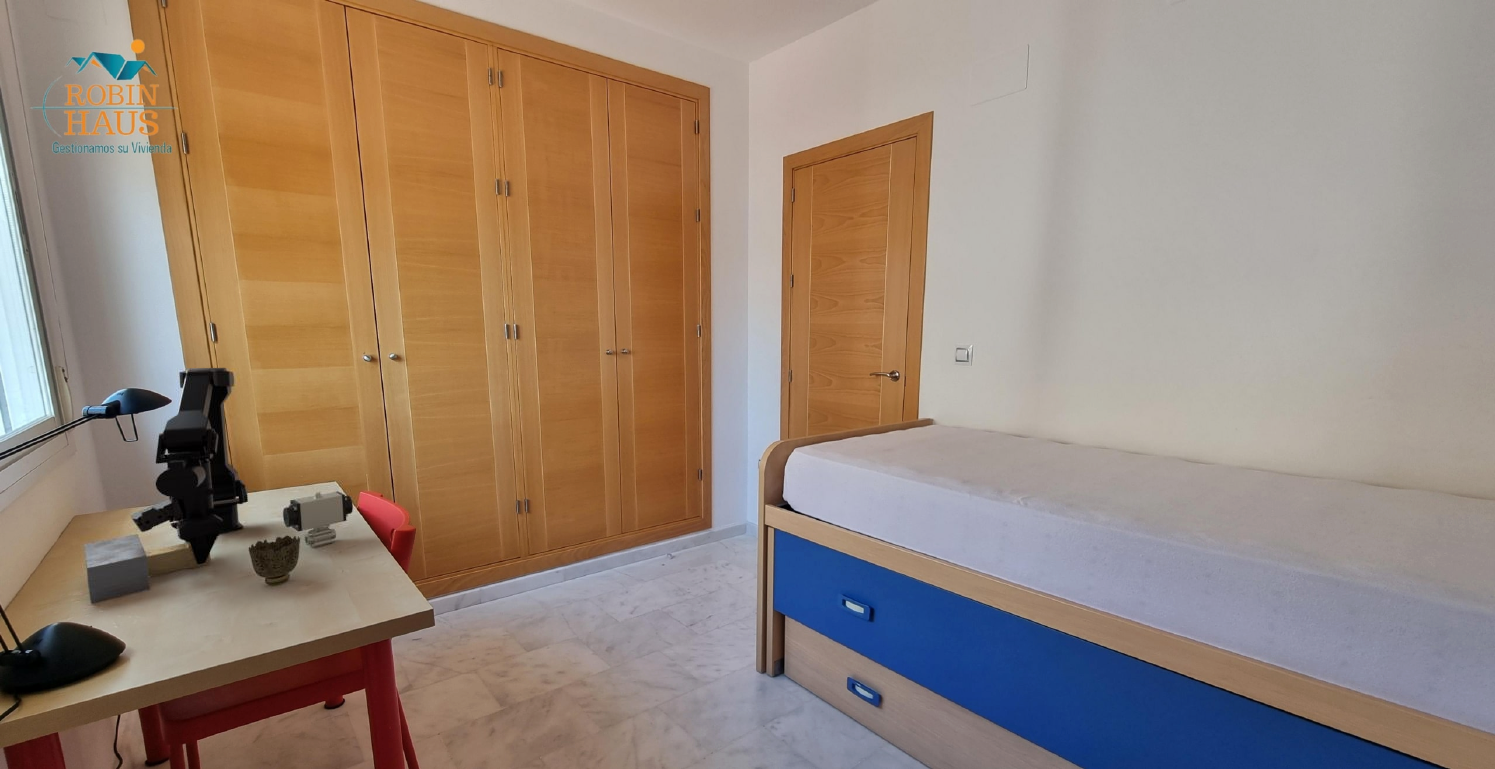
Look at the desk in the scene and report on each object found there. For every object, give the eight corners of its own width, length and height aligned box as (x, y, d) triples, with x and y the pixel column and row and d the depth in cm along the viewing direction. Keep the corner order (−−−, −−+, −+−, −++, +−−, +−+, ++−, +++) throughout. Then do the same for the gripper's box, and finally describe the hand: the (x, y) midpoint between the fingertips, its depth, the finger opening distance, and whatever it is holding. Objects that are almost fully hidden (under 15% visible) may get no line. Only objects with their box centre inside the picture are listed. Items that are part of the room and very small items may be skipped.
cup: (300, 570, 109) (298, 532, 108) (305, 582, 104) (302, 542, 103) (250, 582, 104) (247, 541, 103) (252, 595, 99) (249, 552, 98)
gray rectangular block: (140, 564, 112) (137, 534, 111) (149, 589, 101) (146, 555, 100) (87, 576, 106) (83, 544, 106) (90, 603, 95) (87, 568, 95)
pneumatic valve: (355, 538, 126) (352, 488, 125) (291, 554, 117) (287, 500, 116) (346, 533, 130) (343, 484, 129) (284, 548, 120) (280, 496, 119)
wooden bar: (206, 557, 115) (204, 535, 114) (210, 563, 112) (209, 541, 111) (96, 582, 103) (94, 558, 103) (97, 590, 100) (95, 565, 100)
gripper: (128, 486, 110) (135, 560, 112) (137, 503, 99) (145, 585, 100) (205, 475, 119) (211, 544, 120) (221, 490, 108) (227, 566, 109)
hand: (198, 559), depth 112 cm, fingers open, 7 cm apart
